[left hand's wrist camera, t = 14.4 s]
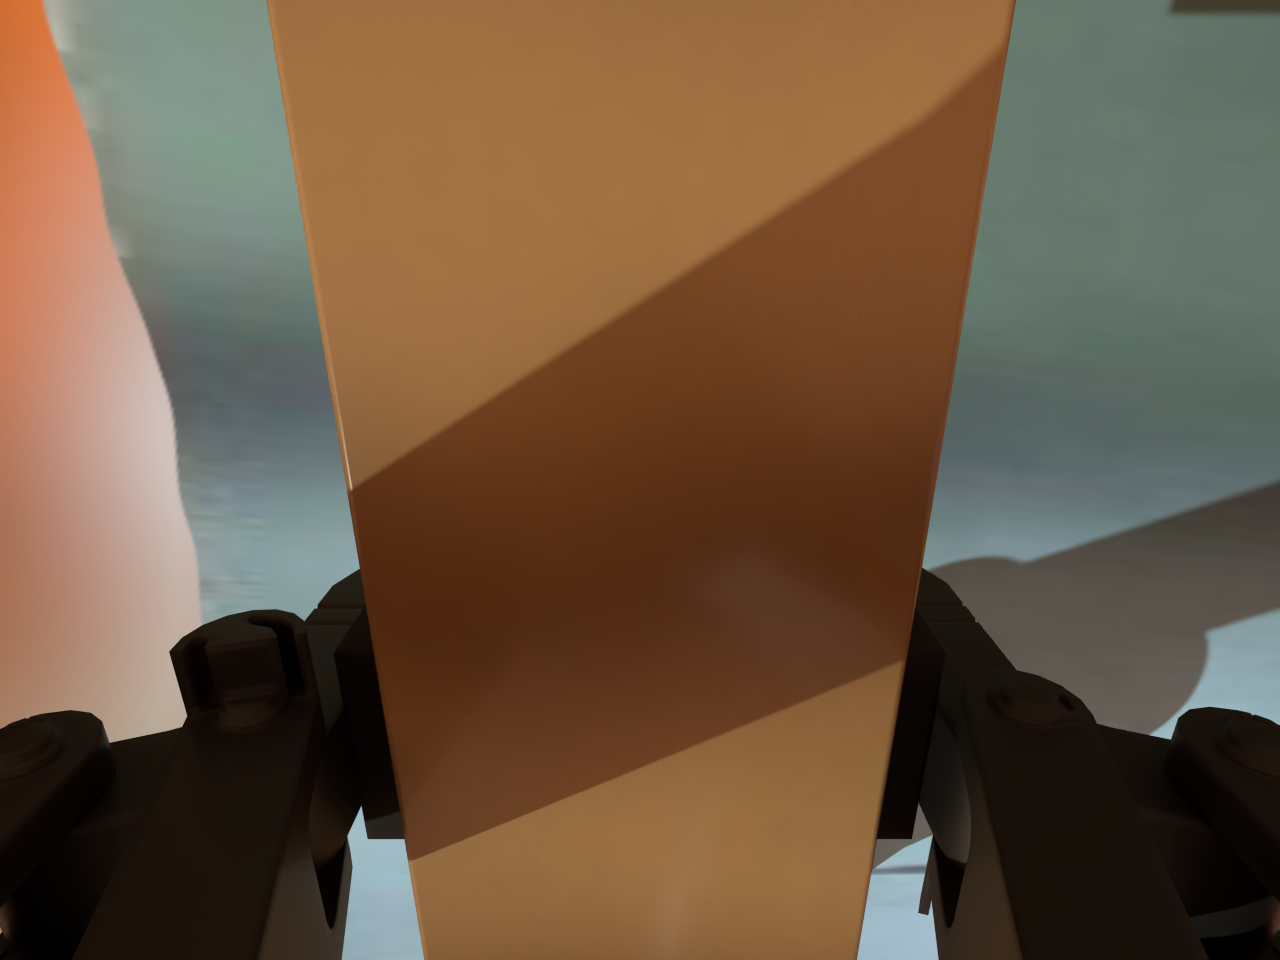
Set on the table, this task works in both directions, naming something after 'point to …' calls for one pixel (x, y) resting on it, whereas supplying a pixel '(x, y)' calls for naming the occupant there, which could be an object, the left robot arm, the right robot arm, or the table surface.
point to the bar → (640, 437)
